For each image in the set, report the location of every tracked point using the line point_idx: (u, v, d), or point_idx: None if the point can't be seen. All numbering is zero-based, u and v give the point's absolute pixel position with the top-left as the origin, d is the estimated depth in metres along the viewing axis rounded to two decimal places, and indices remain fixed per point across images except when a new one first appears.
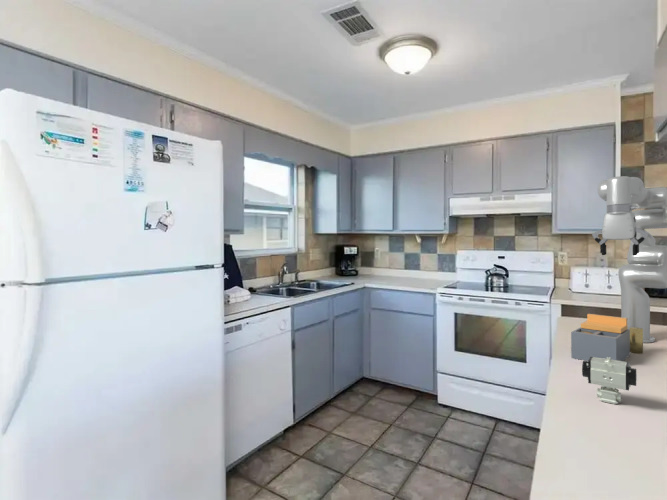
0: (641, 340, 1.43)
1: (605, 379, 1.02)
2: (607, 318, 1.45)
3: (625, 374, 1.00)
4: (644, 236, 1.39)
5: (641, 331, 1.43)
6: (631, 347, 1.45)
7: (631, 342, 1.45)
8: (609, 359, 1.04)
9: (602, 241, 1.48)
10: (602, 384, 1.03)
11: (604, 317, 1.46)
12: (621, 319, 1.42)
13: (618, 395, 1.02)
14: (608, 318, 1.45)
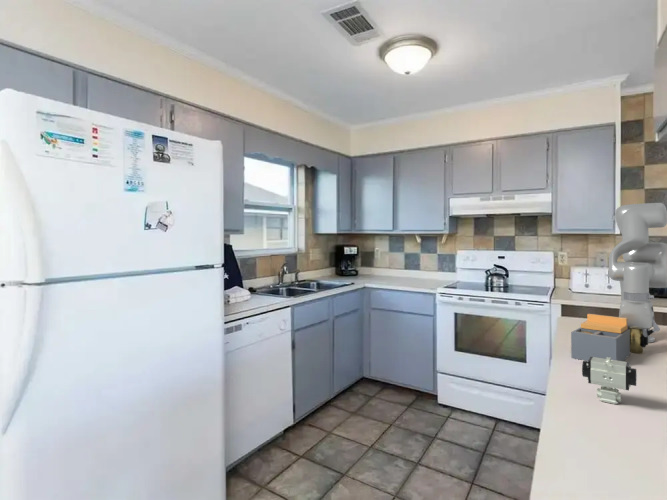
0: (641, 340, 1.43)
1: (605, 379, 1.02)
2: (607, 318, 1.45)
3: (625, 374, 1.00)
4: (654, 331, 1.40)
5: (641, 331, 1.43)
6: (631, 347, 1.45)
7: (631, 342, 1.45)
8: (609, 359, 1.04)
9: None
10: (602, 384, 1.03)
11: (604, 317, 1.46)
12: (621, 319, 1.42)
13: (618, 395, 1.02)
14: (608, 318, 1.45)
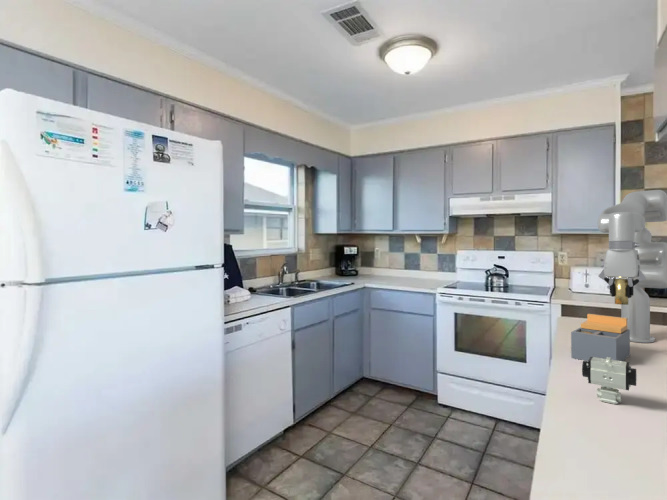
0: (626, 290, 1.37)
1: (605, 379, 1.02)
2: (607, 318, 1.45)
3: (625, 374, 1.00)
4: (640, 280, 1.35)
5: (626, 281, 1.37)
6: (616, 298, 1.39)
7: (616, 293, 1.39)
8: (609, 359, 1.04)
9: (610, 281, 1.40)
10: (602, 384, 1.03)
11: (604, 317, 1.46)
12: (621, 319, 1.42)
13: (618, 395, 1.02)
14: (608, 318, 1.45)
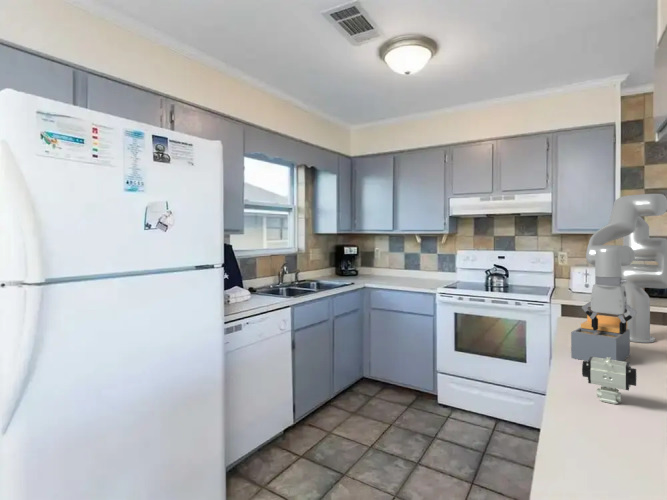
0: None
1: (605, 379, 1.02)
2: (607, 318, 1.45)
3: (625, 374, 1.00)
4: (632, 315, 1.30)
5: None
6: None
7: None
8: (609, 359, 1.04)
9: (593, 315, 1.38)
10: (602, 384, 1.03)
11: (604, 317, 1.46)
12: None
13: (618, 395, 1.02)
14: (608, 318, 1.45)
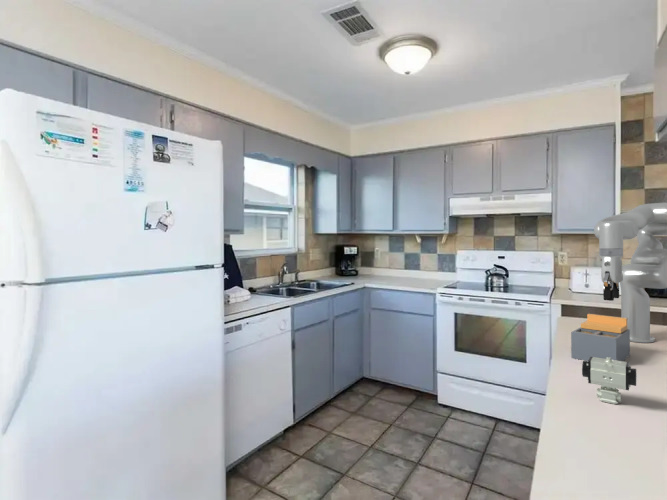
0: None
1: (605, 379, 1.02)
2: (607, 318, 1.45)
3: (625, 374, 1.00)
4: None
5: None
6: None
7: None
8: (609, 359, 1.04)
9: None
10: (602, 384, 1.03)
11: (604, 317, 1.46)
12: (621, 319, 1.42)
13: (618, 395, 1.02)
14: (608, 318, 1.45)
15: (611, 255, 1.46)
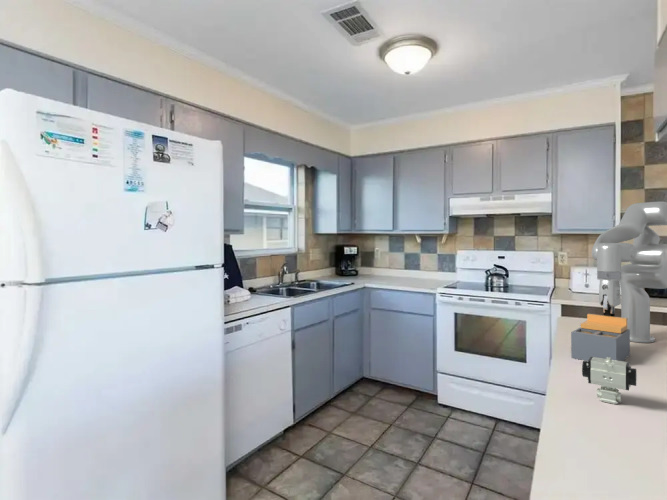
0: None
1: (605, 379, 1.02)
2: (607, 318, 1.45)
3: (625, 374, 1.00)
4: None
5: None
6: None
7: None
8: (609, 359, 1.04)
9: None
10: (602, 384, 1.03)
11: (604, 317, 1.46)
12: (621, 319, 1.42)
13: (618, 395, 1.02)
14: (608, 318, 1.45)
15: (609, 278, 1.44)
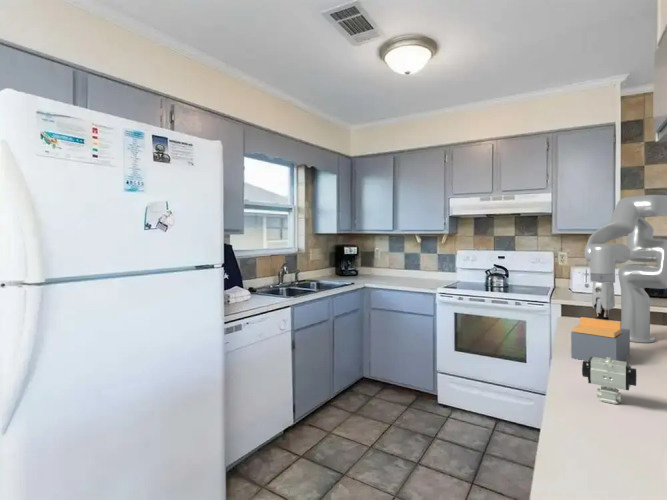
0: None
1: (605, 379, 1.02)
2: (600, 322, 1.40)
3: (625, 374, 1.00)
4: None
5: None
6: None
7: None
8: (609, 359, 1.04)
9: None
10: (602, 384, 1.03)
11: (598, 320, 1.41)
12: (615, 323, 1.37)
13: (618, 395, 1.02)
14: (601, 321, 1.40)
15: (602, 281, 1.39)
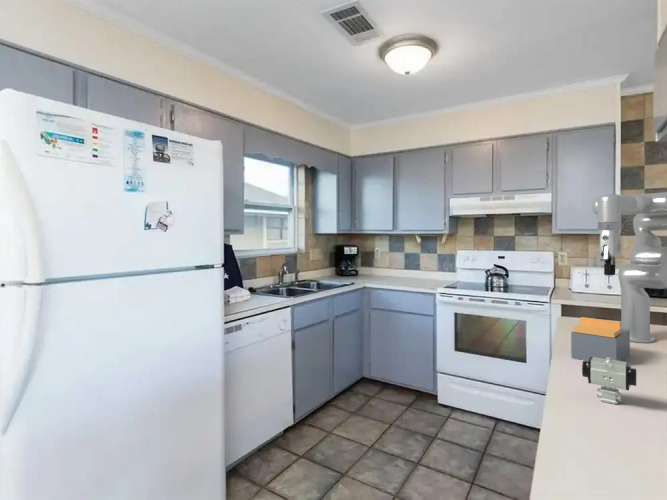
0: None
1: (605, 379, 1.02)
2: (600, 322, 1.40)
3: (625, 374, 1.00)
4: None
5: None
6: None
7: None
8: (609, 359, 1.04)
9: None
10: (602, 384, 1.03)
11: (598, 320, 1.40)
12: (615, 323, 1.37)
13: (618, 395, 1.02)
14: (601, 321, 1.40)
15: (609, 228, 1.44)
